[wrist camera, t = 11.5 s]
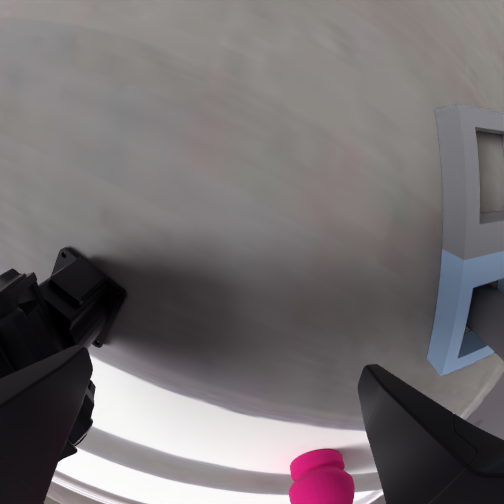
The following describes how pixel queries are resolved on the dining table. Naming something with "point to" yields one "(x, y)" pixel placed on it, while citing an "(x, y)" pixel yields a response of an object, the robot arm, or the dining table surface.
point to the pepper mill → (320, 479)
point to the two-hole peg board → (464, 236)
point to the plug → (488, 317)
